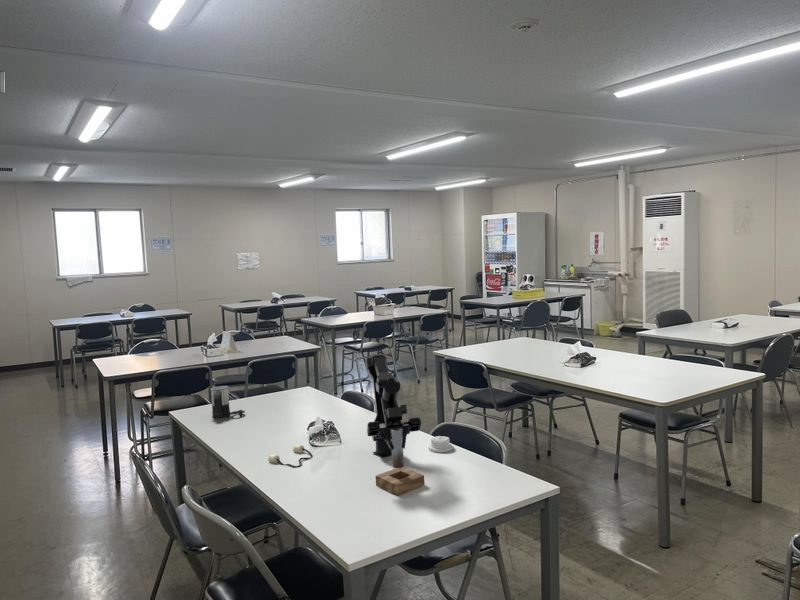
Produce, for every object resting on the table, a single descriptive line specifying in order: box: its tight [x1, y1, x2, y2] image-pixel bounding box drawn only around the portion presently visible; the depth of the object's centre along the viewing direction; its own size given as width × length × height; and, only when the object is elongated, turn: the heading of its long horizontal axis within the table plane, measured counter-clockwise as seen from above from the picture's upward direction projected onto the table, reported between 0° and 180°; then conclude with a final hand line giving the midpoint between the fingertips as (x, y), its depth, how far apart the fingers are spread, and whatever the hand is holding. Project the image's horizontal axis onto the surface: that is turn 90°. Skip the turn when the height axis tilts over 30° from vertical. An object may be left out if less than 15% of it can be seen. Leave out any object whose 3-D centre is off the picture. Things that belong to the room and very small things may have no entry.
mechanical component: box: [427, 435, 454, 453], centre depth 235 cm, size 10×4×10 cm
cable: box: [267, 444, 314, 469], centre depth 231 cm, size 16×16×4 cm
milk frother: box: [209, 385, 246, 418], centre depth 299 cm, size 14×16×15 cm
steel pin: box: [391, 428, 405, 469], centre depth 199 cm, size 4×4×13 cm
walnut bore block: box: [375, 466, 426, 496], centre depth 200 cm, size 12×12×4 cm
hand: (398, 448), depth 197 cm, fingers closed on steel pin, 4 cm apart
